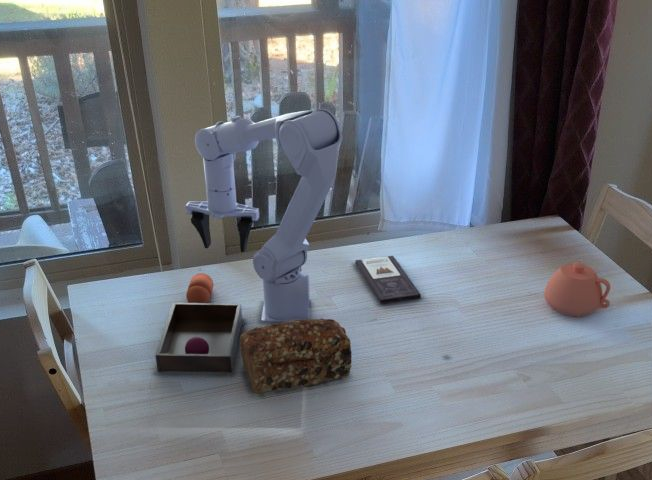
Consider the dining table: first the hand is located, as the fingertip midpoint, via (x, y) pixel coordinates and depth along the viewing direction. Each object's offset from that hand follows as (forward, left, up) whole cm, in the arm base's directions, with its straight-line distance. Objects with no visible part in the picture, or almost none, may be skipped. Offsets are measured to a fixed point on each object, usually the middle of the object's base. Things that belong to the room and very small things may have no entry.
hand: (225, 248), depth 172 cm
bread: (-16, +31, -10) cm, 36 cm away
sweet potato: (+5, +6, -9) cm, 12 cm away
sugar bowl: (-74, +6, -10) cm, 75 cm away
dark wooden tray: (+3, +23, -9) cm, 25 cm away
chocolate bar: (-34, -4, -9) cm, 35 cm away
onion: (+3, +28, -9) cm, 29 cm away
